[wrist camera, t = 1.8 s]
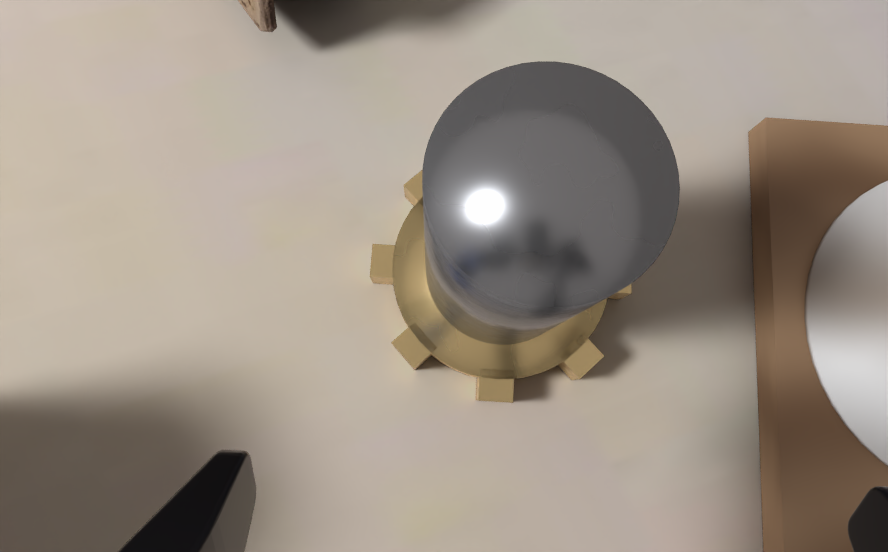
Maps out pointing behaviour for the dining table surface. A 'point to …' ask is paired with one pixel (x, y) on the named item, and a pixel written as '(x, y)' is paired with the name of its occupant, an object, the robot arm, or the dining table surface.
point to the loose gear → (528, 223)
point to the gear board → (819, 325)
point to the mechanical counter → (261, 13)
